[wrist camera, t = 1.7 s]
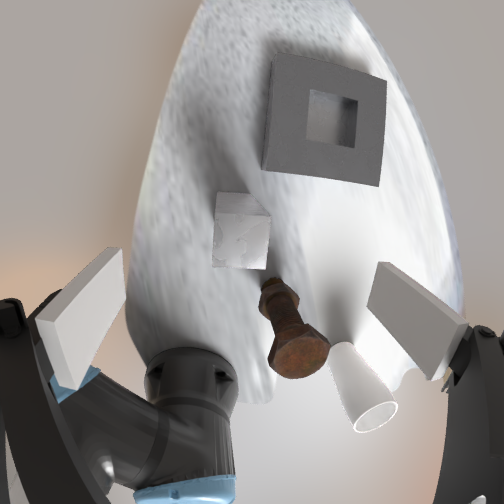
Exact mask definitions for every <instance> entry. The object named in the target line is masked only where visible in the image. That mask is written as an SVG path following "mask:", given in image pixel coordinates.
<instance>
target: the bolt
mask: <svg viewBox="0 0 504 504" xmlns="http://www.w3.org/2000/svg"><path fill="white" fill-rule="evenodd" d="M261 293H262V294H261V297H260V301H259V306H258V308H259V311H260V313H261V314H262V315H263V316H265V317H266V318H267V319H268V320H270V321H271V324H272V327H273V331H274V334H275V338H274V341H273V344H272V347H271V350H270V353H269V356H268V358H267V359H268V363H269V366H270V367H271V368H272V369H273V370H274V371H275V372H277V373H278V374H280V375H281V376H283V377H285V378H288V379H298V378H304V377H307V376H309V375H311V374H313V373H315V372H316V371H317V370H319V369H320V368H321V367H322V366H323V365H324V363H325V362H326V360H327V358H328V355H329V351H330V346H331V345H330V343H329V342H328V340H327V338H325V337H324V336H323V335H322V334H320V333H319V332H318V331H317V330H315V329H314V328H313V327H312V326H311V325H309V324H308V323H307V324H304V322H303V321H302V319H301V316H300V314H299V312H298V310H297V309H298V305H299V300H300V298H299V296H298V295H297V294H296V293H295V292H294V291H293V290H292V289H291V288H290V287H289V286H288V285H286V284H285V283H283V281H282V280H281V279H279V278H278V279H277V280H276V278H275V277H274V278H270V279H269V280H268V281H266V282H265V283H264V284H263V286H262V289H261Z"/></svg>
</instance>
